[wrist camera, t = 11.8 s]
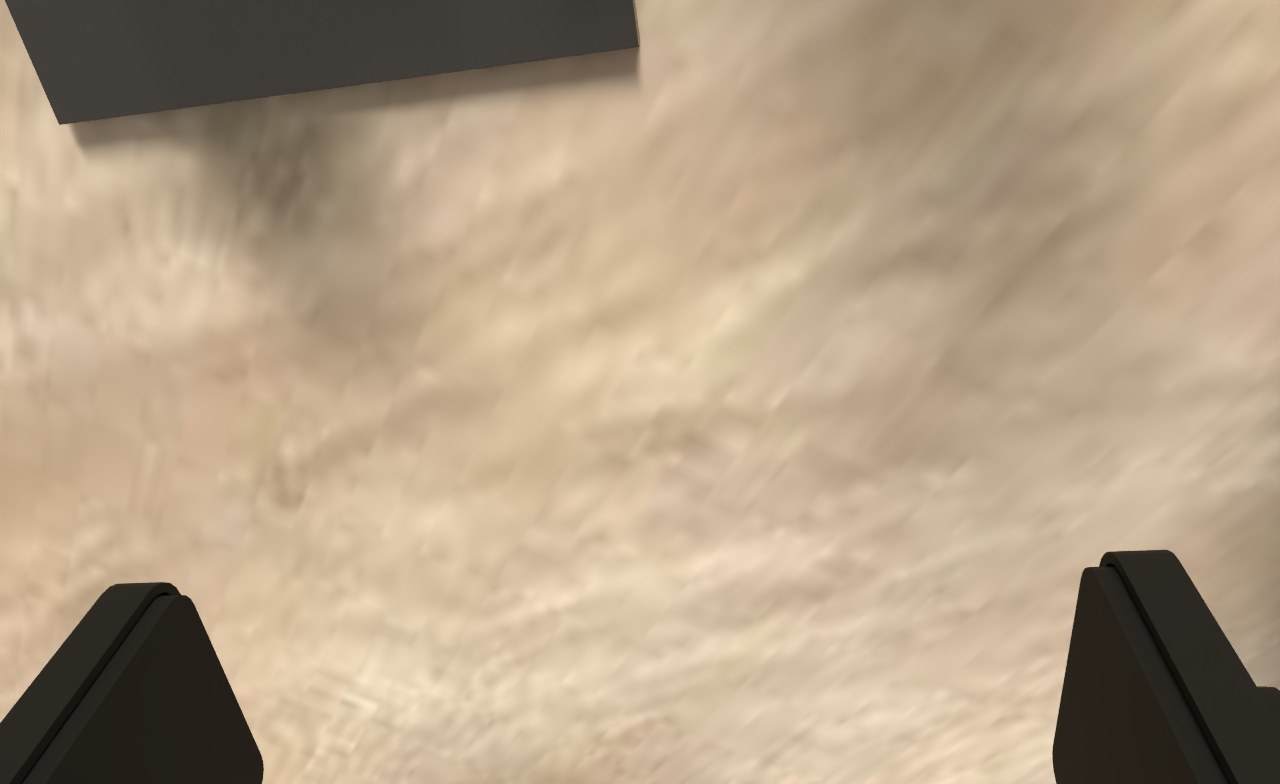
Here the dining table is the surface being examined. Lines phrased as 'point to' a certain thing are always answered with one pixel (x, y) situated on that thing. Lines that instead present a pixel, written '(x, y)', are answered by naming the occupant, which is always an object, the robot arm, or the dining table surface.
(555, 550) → the dining table surface
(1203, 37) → the dining table surface
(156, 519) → the dining table surface
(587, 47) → the socket holder
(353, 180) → the dining table surface
